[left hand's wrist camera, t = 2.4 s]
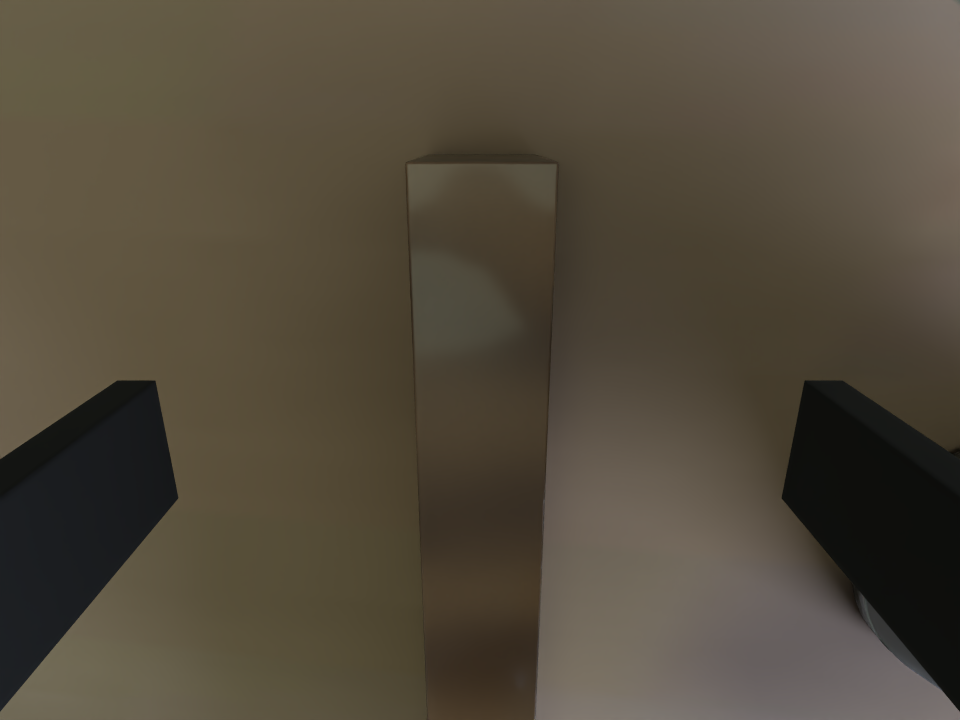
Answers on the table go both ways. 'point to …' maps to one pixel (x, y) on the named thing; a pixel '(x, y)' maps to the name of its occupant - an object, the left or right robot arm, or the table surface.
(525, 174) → the block
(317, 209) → the table surface
